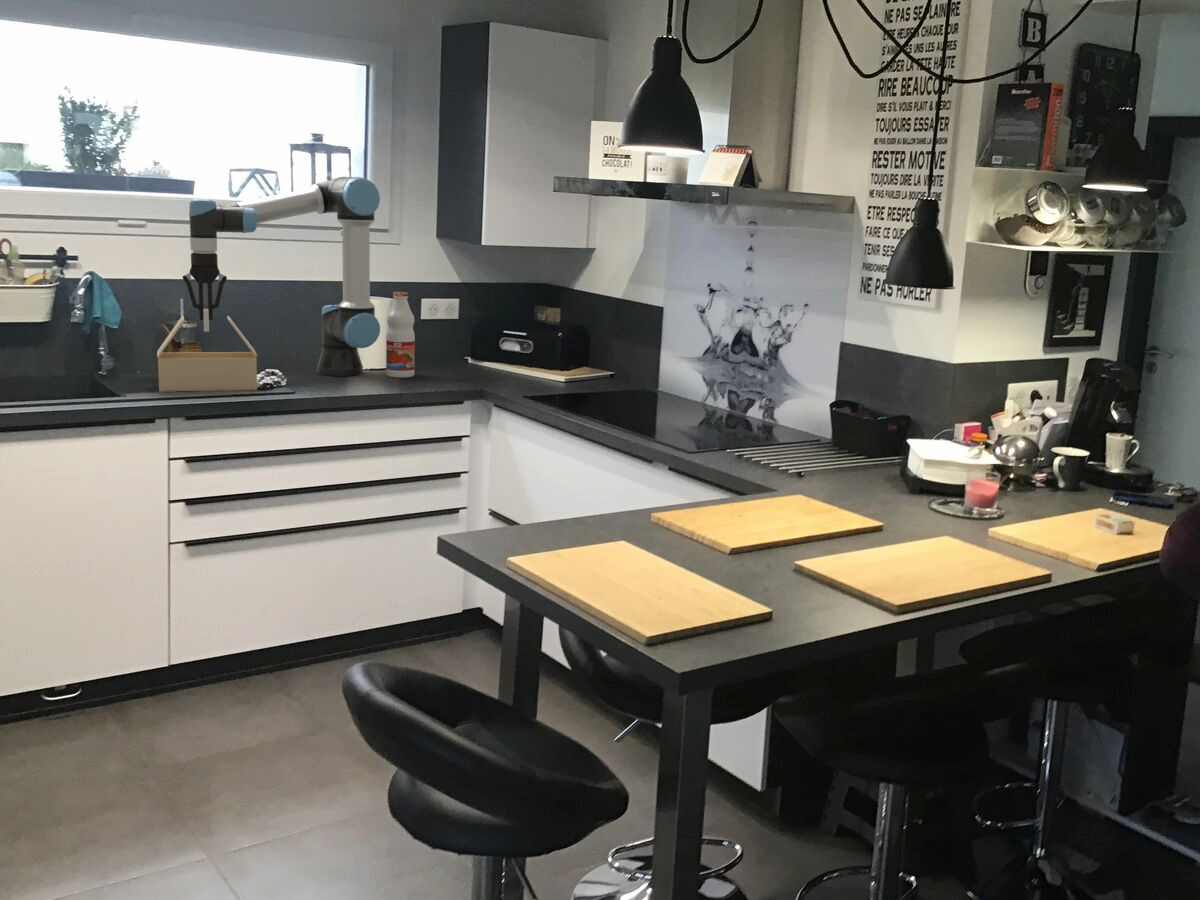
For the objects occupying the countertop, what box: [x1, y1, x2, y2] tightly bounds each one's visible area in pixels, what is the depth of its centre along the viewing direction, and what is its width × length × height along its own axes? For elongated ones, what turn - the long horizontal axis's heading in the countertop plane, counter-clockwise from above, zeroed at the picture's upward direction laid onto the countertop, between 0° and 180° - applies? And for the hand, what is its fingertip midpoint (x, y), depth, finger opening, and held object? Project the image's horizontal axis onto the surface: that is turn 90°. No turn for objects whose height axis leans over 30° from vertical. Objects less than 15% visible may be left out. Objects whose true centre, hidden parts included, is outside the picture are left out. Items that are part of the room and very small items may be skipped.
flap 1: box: [156, 315, 185, 358], centre depth 354 cm, size 13×12×1 cm
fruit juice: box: [385, 291, 416, 379], centre depth 395 cm, size 9×9×28 cm
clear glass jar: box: [158, 321, 203, 353], centre depth 374 cm, size 9×14×18 cm, turn 105°
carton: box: [157, 351, 258, 393], centre depth 360 cm, size 28×13×10 cm, turn 109°
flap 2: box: [226, 315, 258, 357], centre depth 361 cm, size 13×12×1 cm
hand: (206, 330), depth 357 cm, fingers closed
